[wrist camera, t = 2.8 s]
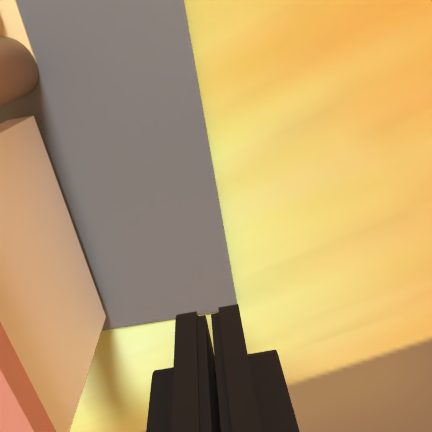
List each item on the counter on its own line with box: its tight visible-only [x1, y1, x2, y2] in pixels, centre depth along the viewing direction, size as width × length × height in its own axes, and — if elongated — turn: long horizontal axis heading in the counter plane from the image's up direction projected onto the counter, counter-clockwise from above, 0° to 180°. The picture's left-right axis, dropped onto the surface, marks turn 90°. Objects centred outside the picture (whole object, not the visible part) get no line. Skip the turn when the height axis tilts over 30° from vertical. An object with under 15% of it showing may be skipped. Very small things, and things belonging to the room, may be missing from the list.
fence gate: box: [0, 115, 106, 432], centre depth 14 cm, size 10×2×8 cm, turn 9°
